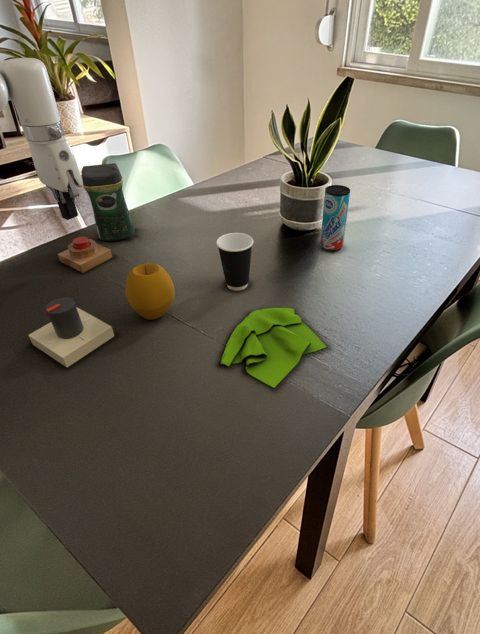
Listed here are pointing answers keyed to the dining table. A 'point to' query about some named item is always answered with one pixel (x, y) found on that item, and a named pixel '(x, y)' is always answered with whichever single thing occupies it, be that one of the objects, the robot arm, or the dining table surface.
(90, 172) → the coffee jar
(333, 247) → the beverage can
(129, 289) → the apple
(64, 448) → the dining table surface
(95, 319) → the panel
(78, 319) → the knob
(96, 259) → the button block
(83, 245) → the button
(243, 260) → the dixie cup
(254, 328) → the cloth
